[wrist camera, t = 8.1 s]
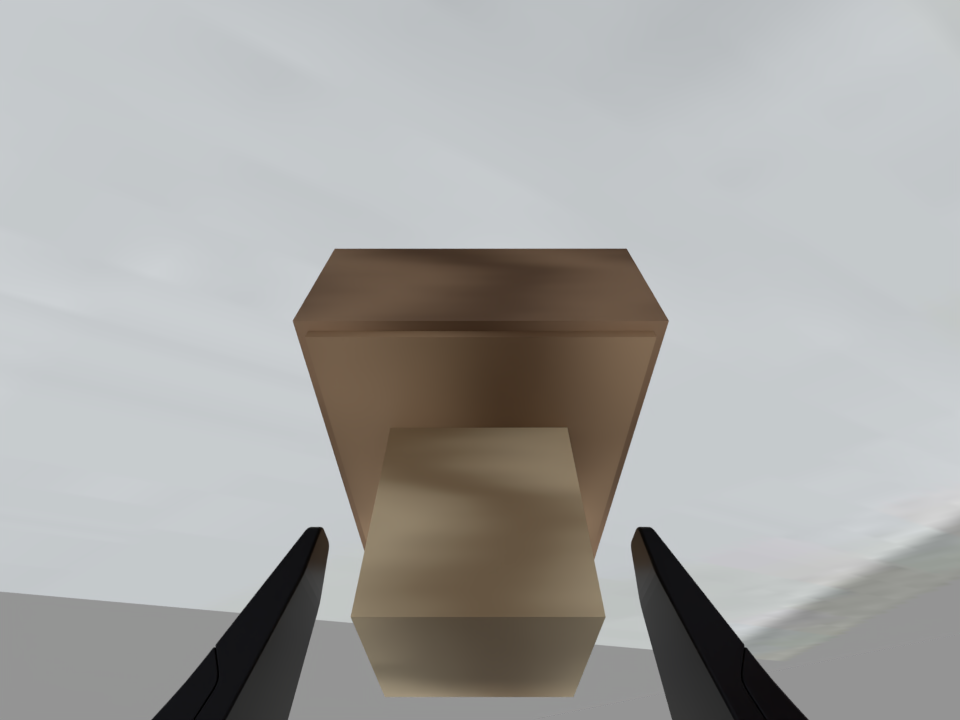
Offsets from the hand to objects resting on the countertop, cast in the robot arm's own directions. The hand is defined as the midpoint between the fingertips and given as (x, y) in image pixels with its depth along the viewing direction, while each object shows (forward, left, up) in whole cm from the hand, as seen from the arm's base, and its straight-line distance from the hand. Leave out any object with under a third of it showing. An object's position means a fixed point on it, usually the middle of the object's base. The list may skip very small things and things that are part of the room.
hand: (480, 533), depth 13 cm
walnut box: (0, 0, -6) cm, 6 cm away
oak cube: (0, 0, -2) cm, 2 cm away
